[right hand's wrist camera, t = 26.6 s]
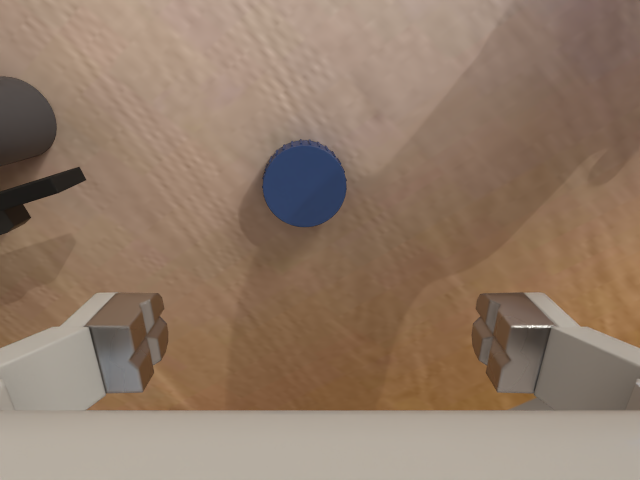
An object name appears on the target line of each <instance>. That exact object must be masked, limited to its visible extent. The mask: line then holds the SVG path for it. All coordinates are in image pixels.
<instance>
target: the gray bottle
mask: <svg viewBox="0 0 640 480" xmlns="http://www.w3.org/2000/svg"><path fill="white" fill-rule="evenodd" d="M55 136H56V119H55V115H54V113H53V110H52V108H51V106H50V104H49V103H48V101H47V100H46V99H45V97H44V96H43V95H42V94H41V93H40V92H39V91H38V90H36V89H35V88H34V87H33V86H31V85H29V84H28V83H26V82H24V81H22V80H19V79H16V78H12V77H0V166H2V165H6V164H9V163H13V162H17V161H20V160H24V159H27V158H31V157H34V156H37V155H40V154H42V153H44V152H45V151H46V150H47V149H48V148H49V147H50V146H51V145H52V143H53V141H54V139H55Z"/></svg>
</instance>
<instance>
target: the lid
mask: <svg viewBox="0 0 640 480" xmlns="http://www.w3.org/2000/svg"><path fill="white" fill-rule="evenodd" d="M265 171H266V172H264V175H263V186H262V188H263V193H264V197H265V201H266V203H267V205H268V207H269V208H270V210H271V211H272V212H273V213H274V215H276V216H277V217H278V218H279V219H280V220H282V221H284V222H285V223H287V224H290V225H293V226H297V227H312V226H316V225H319V224H322V223H324V222H326V221H327V220H329V219H330V218H332V217H333V216H334V215H335V214H336V213H337V211H338V210H339V209H340V207H341V205H342V203H343V201H344V198H345V194H346V181H347V180H346V178H345V174H344V173H345V171H344V169H343V167H342V166H341V163H340V161H339V159H338V158H336V156H335V154H334V152H333V151H332V152H331V151H330V150H329V149H328V148H327V146H323V145H321V144H319V142H313V141H310V140H309V141H307V140H301V139H300V141H295V142H293V141H291V143H289V144H286V145H285V144H284V145H283V147H281V148H280V149H279V150H276V153H275V154H274V155H273V156H271V157H270V160H269V163H268V164H267V165H266V168H265Z"/></svg>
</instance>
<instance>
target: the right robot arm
mask: <svg viewBox="0 0 640 480" xmlns="http://www.w3.org/2000/svg"><path fill="white" fill-rule="evenodd" d="M163 310H164V305H163V300H162V297H161V296H160V295H159V294H158V293H118V292H104V293H96V294H94V295H93V296H92V297H91V298H90V299H89V300H88V301H87V302H86V303H85V304H84V305H82V306H81V307H80V308H79V309H78V310H77V311H76V312H75V313H74V314H73V315H72V316H71V317H69V318H68V319H67V320H66V321H65V322H64V323H63V324H62V325H61V326H60V327H51V328H49V329H46V330H44V331H41V332H39V333H36V334H34V335H32V336H29V337H27V338H24V339H22V340H19V341H17V342H14V343H12V344H10V345H7V346H5V347H2V348H0V480H640V348H638V347H635V346H633V345H630V344H628V343H625V342H623V341H621V340H618V339H616V338H613V337H611V336H608V335H606V334H604V333H601V332H599V331H596V330H594V329H591V328H589V327H580V326H579V325H578V324H577V323H576V322H575V321H574V320H573V319H572V318H571V317H570V316H568V315H567V314H566V313H565V312H564V311H563V310H562V309H561V308H560V307H559V306H558V305H557V304H555V303H554V302H553V301H552V300H551V299H550V298H549V297H548V296H547V295H546V294H544V293H541V292H529V293H485V294H480V295H479V297H478V300H477V304H476V310H477V312H478V313H479V315H480V317H479V318H478V319H477V320H476V321H475V322H474V323H473V328H472V345H473V349H474V352H475V354H476V356H477V358H478V360H479V361H481V362H482V363H484V364H485V365H487V369H486V374H487V375H488V377H489V379H490V381H491V382H492V384H493V386H494V387H495V389H496V391H497V392H504V393H534V395H535V396H536V397H537V398H539V399H540V400H541V401H543V402H544V403H545V404H547V405H548V406H549V407H551V408H552V409H553V410H87V409H88V408H89V407H91V406H92V405H93V404H95V403H96V402H97V401H99V400H100V399H101V398H103V397H104V396H105V395H106V393H135V392H143V391H144V389H145V387H146V386H147V384H148V382H149V381H150V379H151V377H152V375H153V374H154V369H153V365H155V364H156V363H158V362H159V361H161V360H162V358H163V356H164V354H165V352H166V348H167V344H168V328H167V323H166V322H165V321H164V320H163V319H162V318H161V317H160V315H161V313H162V312H163Z"/></svg>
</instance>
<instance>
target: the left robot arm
mask: <svg viewBox="0 0 640 480" xmlns="http://www.w3.org/2000/svg"><path fill="white" fill-rule="evenodd" d="M85 180H86V179H85V177H84V175H83V173H82V171H81V169H80V167H77V168H74V169H71V170H67V171H64V172H61V173H58V174H55V175H52V176H48V177H45V178H42V179H39V180H36V181H33V182H29V183H26V184H23V185H20V186H17V187H13V188H10V189H7V190H4V191H1V192H0V235H1V234H5V233H8V232H10V231H11V230H13V229H15V228H17V227H19V226H21V225H23V224H25V223H26V222H27V221H28V220H29V219H30V218H31V217H30V215H29V213H28V212H27V210H26V208H25V207H24V205H23V204H25V203H28V202H31V201H34V200H37V199H41V198H44V197H47V196H50V195H53V194H57V193H59V192H61V191H64V190H66V189H68V188H70V187H72V186H74V185H77V184H79V183H81V182H83V181H85Z"/></svg>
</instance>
